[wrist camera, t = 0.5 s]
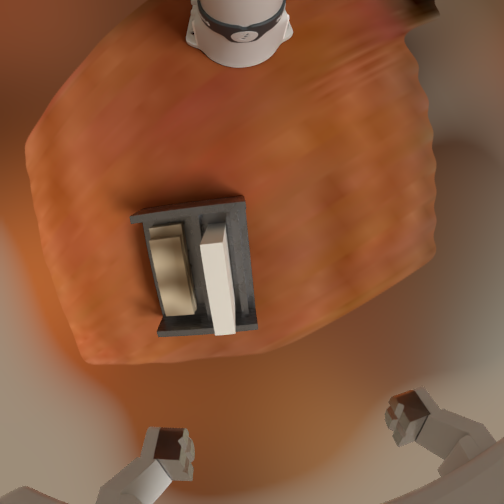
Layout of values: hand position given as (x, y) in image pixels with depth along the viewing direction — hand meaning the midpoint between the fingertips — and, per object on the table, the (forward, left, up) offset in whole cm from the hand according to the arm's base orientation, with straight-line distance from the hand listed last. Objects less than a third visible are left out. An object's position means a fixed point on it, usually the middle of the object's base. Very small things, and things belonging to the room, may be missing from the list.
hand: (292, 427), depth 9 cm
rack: (+7, -9, -42) cm, 44 cm away
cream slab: (+7, -5, -41) cm, 42 cm away
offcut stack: (+7, -14, -41) cm, 43 cm away
